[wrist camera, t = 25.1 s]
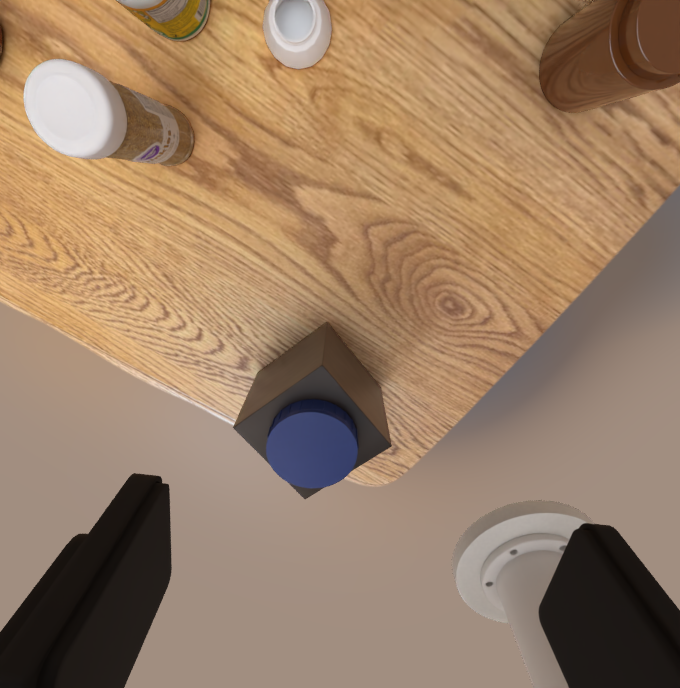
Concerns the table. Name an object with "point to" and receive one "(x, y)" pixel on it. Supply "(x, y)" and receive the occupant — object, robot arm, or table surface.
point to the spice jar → (102, 117)
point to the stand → (316, 394)
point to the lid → (312, 444)
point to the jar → (612, 54)
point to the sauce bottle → (1, 42)
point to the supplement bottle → (171, 16)
